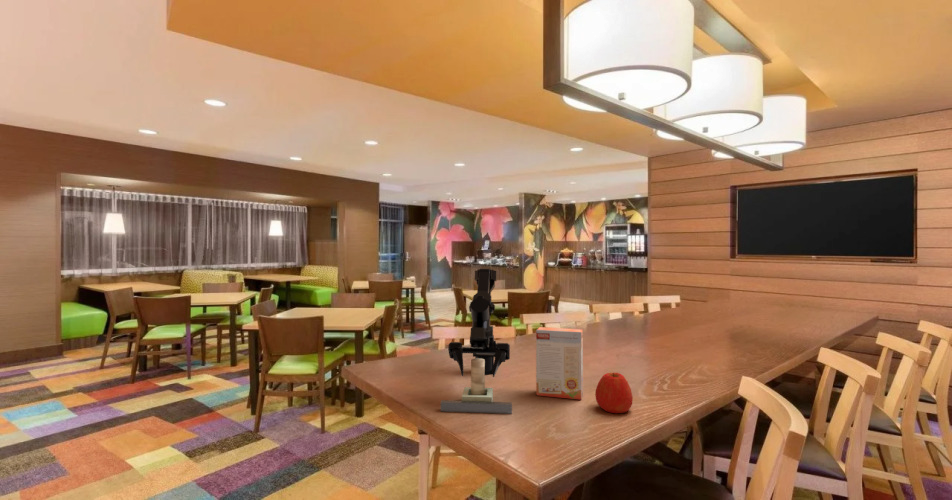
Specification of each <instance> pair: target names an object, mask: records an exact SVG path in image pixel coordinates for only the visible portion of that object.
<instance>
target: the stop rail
mask: <svg viewBox="0 0 952 500" xmlns="http://www.w3.org/2000/svg"><path fill="white" fill-rule="evenodd" d="M512 404H513V403H512V402H511V401H510V402H508V401H507V402H506V401H493V402H483V401H462V400H450V399H449V400H448V399H447V400H445V399H443V400H440V412H445V413H453V412H454V413H473V414H474V413H475V414H501V415H503V414H505V415H506V414H508V415H512V414H513V407H512V406H513V405H512Z"/></svg>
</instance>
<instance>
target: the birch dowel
mask: <svg viewBox="0 0 952 500" xmlns="http://www.w3.org/2000/svg"><path fill="white" fill-rule="evenodd" d="M485 375H486V374H485V360H484V359H481V358H475V357H474V358H472V359H470V387H471V395H485V388H486V386H485V381H486V379H485V377H486V376H485Z"/></svg>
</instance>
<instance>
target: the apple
mask: <svg viewBox="0 0 952 500" xmlns="http://www.w3.org/2000/svg"><path fill="white" fill-rule="evenodd" d="M594 395H595V401H596V404H597V405H598V406H599V407H600V408H601V409H602V410H604V411H606V413H607V412H608V413H613V414H622V413H626V412H628V411H629V410H630V409H631V408H632V406H633V400H634V397H633V392H632V388H631V386H630V384H629V382H628V380H627V379H626V378H625V376H624V375H623V374H621V373H619V372H607V373H605V374H603V375H601V378H600V379H599V381H598V383H597V385H596V389H595V394H594Z"/></svg>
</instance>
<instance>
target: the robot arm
mask: <svg viewBox="0 0 952 500" xmlns="http://www.w3.org/2000/svg"><path fill="white" fill-rule="evenodd" d="M497 280H498V271H497V270H494V269H491V268H487V267H486V268H483V267H482V268H477V270H476V269H475V270H474V281H475V282H476V287H477V291H476V293H475V294H473V296H472V301H470V303H469V306H468V309H469V313H470V316H471V320H472V324H471V327H470V335H469V345H470V346H463V343H462V341H450V342H449V344H448V348H447V349H448V351H447V352H448V356H449V358H450V359H453V361H454V362H456V363H457V364H458V366H459V371H460V375H461V377H464V356H463V355H464V354H472V357H473V358H474V359H475V358H481V359H484V360H485V375H492V377H493V378H495V377H496V374H497V372H498V370H499V368H500V366H501V364H502V363H505V362H506V361H508V360H510V359H511V358H510V357H511V356H510V353H511V352H510V349H511V347H510V344H509V343H508V342H496V340H495V337H494V326H493V325H491V316H492V314H493V313H494V311H495V310H496V305H495V304H494V301H492V292H493V291H494V289H495V286H496V282H497Z"/></svg>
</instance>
